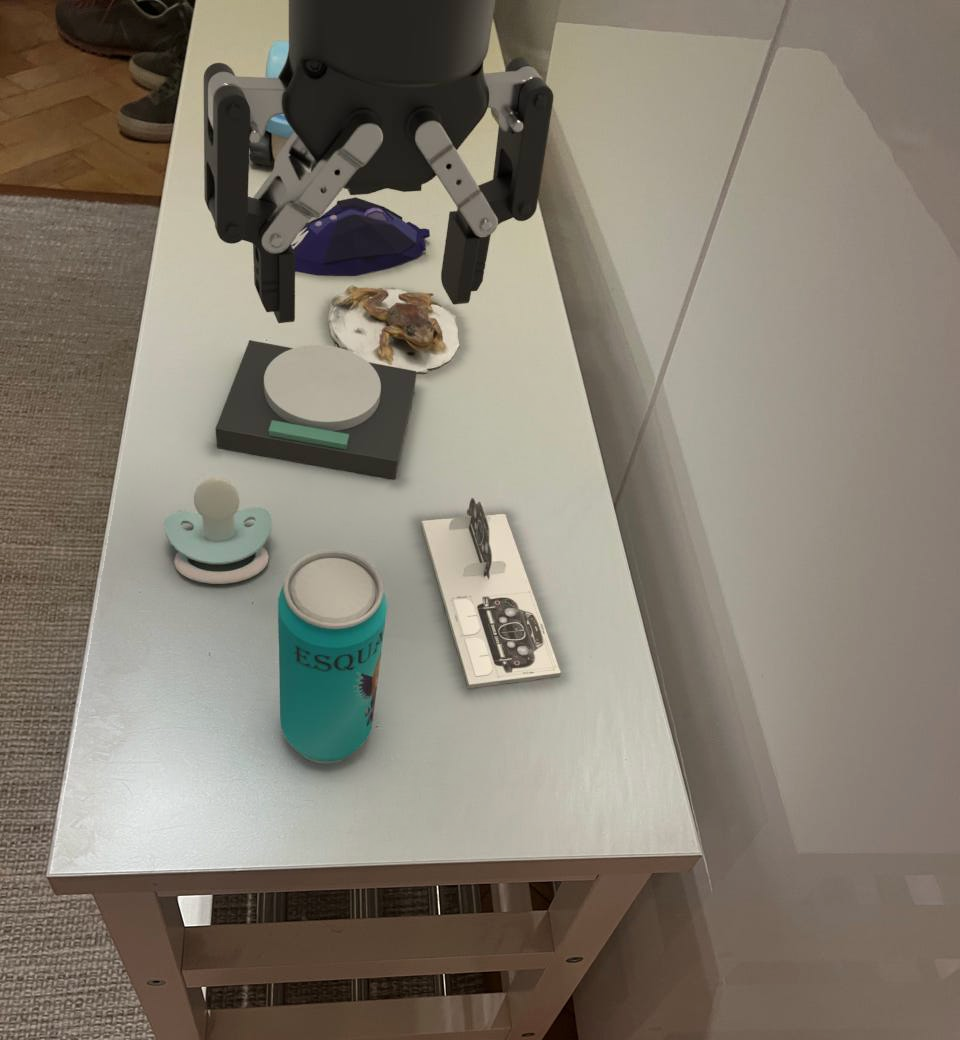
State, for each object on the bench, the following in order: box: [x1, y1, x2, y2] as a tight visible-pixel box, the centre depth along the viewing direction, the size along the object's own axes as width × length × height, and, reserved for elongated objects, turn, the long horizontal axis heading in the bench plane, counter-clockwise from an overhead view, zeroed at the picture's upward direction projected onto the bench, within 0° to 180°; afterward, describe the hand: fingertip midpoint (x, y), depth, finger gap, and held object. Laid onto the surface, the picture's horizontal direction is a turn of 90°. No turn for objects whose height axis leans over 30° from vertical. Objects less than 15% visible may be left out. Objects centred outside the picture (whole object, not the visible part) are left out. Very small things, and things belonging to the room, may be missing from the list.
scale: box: [215, 339, 418, 480], centre depth 79 cm, size 14×11×3 cm
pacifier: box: [163, 476, 273, 585], centre depth 68 cm, size 7×6×6 cm
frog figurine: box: [327, 285, 461, 374], centre depth 87 cm, size 12×12×4 cm
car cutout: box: [420, 497, 562, 689], centre depth 70 cm, size 15×7×4 cm, turn 14°
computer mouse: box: [291, 196, 431, 277], centre depth 94 cm, size 9×15×4 cm, turn 111°
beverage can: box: [277, 548, 388, 764], centre depth 58 cm, size 6×6×15 cm
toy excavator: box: [249, 40, 318, 170], centre depth 98 cm, size 9×17×17 cm, turn 174°
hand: (369, 303), depth 47 cm, fingers open, 8 cm apart
